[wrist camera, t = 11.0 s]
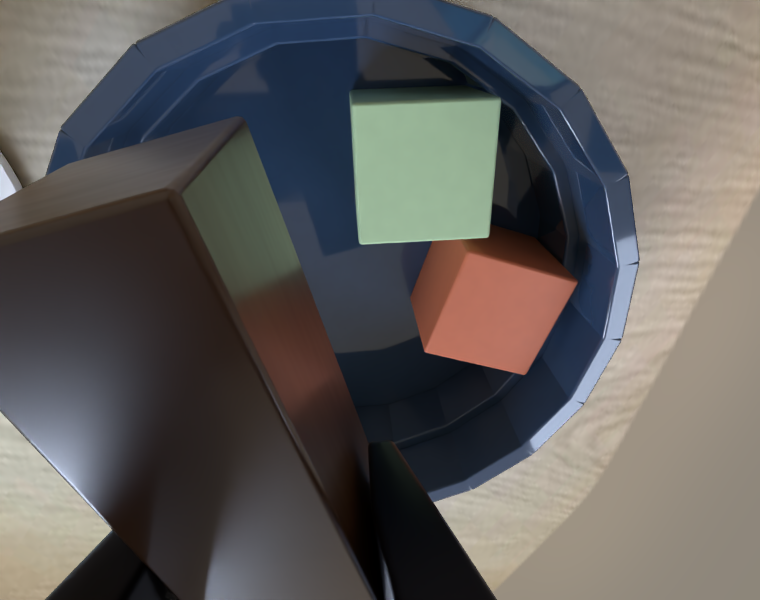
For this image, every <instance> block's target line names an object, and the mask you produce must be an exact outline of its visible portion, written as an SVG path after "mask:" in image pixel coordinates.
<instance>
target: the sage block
mask: <svg viewBox="0 0 760 600" xmlns="http://www.w3.org/2000/svg"><path fill="white" fill-rule="evenodd" d="M349 95H350V113H351V131H352V149H353V167H354V184H355V202H356V215H357V227H358V239H359V243H360V244H362V245H363V244H381V243H400V242H418V241H437V240H455V239H474V238H487V237H488V236H489V233H490V221H491V210H492V199H493V187H494V176H495V165H496V153H497V142H498V130H499V119H500V108H501V99H500V97H498V96H495V95H492V94H489V93H486V92H483V91H480V90H477V89H474V88H471V87H468V86H465V85H460V86H434V87H408V88H382V89H357V90H351V91H350V93H349Z"/></svg>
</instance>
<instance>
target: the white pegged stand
mask: <svg viewBox="0 0 760 600" xmlns="http://www.w3.org/2000/svg"><path fill="white" fill-rule="evenodd" d="M21 189H23V188H22V186H21V184H20V182H19V180H18V178H17V177H16V175H15V173H14V171H13V170H12V168H11V166H10V165H9V163H8V162H7V160H6V159H5V157H4V156H3V154H2V153H1V151H0V201H1V200H3V199H4V198H6V197H8V196H10V195H12V194H14V193H15V192H17V191H19V190H21Z"/></svg>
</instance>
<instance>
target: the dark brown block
mask: <svg viewBox="0 0 760 600" xmlns="http://www.w3.org/2000/svg"><path fill="white" fill-rule="evenodd" d="M0 412H1V413H2V414H3V415H4V416H5V417H6V418H7V419H8V420H9V421H10V422H11V423H12V424H13V425H14V426H15V427H16V428H17V429H18V431H19V432H20V433H21V434H22V435H23V436H24V437H25V438H26V439H27V440H28V441H29V442H30V443H31V444H32V445H33V446H34V447H35V448H36V450H37V451H38V452H39V453H40V454H41V455H42V456H43V457H44V458H45V459H46V460H47V461H48V462H49V463H50V464H51V465H52V466H53V468H54V469H55V470H56V471H57V472H58V473H59V474H60V475H61V476H62V477H63V478H64V479H65V480H66V481H67V482H68V483H69V484H70V485H71V487H72V488H73V489H74V490H75V491H76V492H77V493H78V494H79V495H80V496H81V497H82V498H83V499H84V500H85V501H86V502H87V503H88V505H89V506H90V507H91V508H92V509H93V510H94V511H95V512H96V513H97V514H98V515H99V516H100V517H101V518H102V519H103V520H104V521H105V522H106V524H107V525H108V526H109V527H110V528H111V529H112V530H113V531H114V532H115V533H116V534H117V535H118V536H119V537H120V538H121V539H122V540H123V542H124V543H125V544H126V545H127V546H128V547H129V548H130V549H131V550H132V551H133V552H134V553H135V554H136V555H137V556H138V557H139V558H140V559H141V561H142V562H143V563H144V564H145V565H146V566H147V567H148V568H149V569H150V570H151V571H152V572H153V573H154V574H155V575H156V576H157V577H158V579H159V580H160V581H161V582H162V583H163V584H164V585H165V586H166V587H167V588H168V589H169V590H170V591H171V592H172V593H173V594H174V595H175V596H176V598H177V599H178V600H383V595H382V589H381V583H380V577H379V570H378V561H377V552H376V544H375V535H374V526H373V518H372V509H371V499H370V481H369V462H368V444H369V443H368V441H367V438H366V435H365V433H364V430H363V427H362V425H361V422H360V420H359V417H358V414H357V412H356V409H355V406H354V404H353V401H352V399H351V396H350V393H349V391H348V388H347V385H346V383H345V380H344V377H343V375H342V372H341V370H340V367H339V364H338V362H337V359H336V356H335V354H334V351H333V349H332V346H331V343H330V341H329V338H328V335H327V333H326V330H325V328H324V325H323V322H322V320H321V317H320V314H319V312H318V309H317V307H316V304H315V301H314V299H313V296H312V293H311V291H310V288H309V286H308V283H307V280H306V278H305V275H304V272H303V270H302V267H301V264H300V262H299V259H298V257H297V254H296V251H295V249H294V246H293V243H292V241H291V238H290V236H289V233H288V230H287V228H286V225H285V222H284V220H283V217H282V215H281V212H280V209H279V207H278V204H277V201H276V199H275V196H274V194H273V191H272V188H271V186H270V183H269V180H268V178H267V175H266V173H265V170H264V167H263V165H262V162H261V159H260V157H259V154H258V151H257V149H256V146H255V144H254V141H253V138H252V136H251V133H250V130H249V128H248V125H247V123H246V121H245V120H244V119H243V117H239V116H235V117H232V118H228V119H225V120H221V121H218V122H214V123H210V124H207V125H203V126H200V127H196V128H193V129H189V130H186V131H182V132H179V133H175V134H172V135H168V136H164V137H161V138H157V139H154V140H150V141H147V142H143V143H140V144H136V145H133V146H129V147H125V148H122V149H118V150H115V151H111V152H108V153H104V154H101V155H97V156H94V157H90V158H87V159H83V160H79V161H76V162H72V163H69V164H67V165H65V166H63V167H61V168H59V169H58V170H56V171H54V172H52V173H50V174H48V175H47V176H45V177H43V178H41V179H39V180H37V181H36V182H34V183H32V184H30V185H28V186H26V187H25V188H23V189H21V190H19V191H17V192H15V193H14V194H12V195H10V196H8V197H6V198H4V199H3V200H1V201H0Z"/></svg>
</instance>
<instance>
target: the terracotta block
mask: <svg viewBox="0 0 760 600" xmlns="http://www.w3.org/2000/svg"><path fill="white" fill-rule="evenodd" d="M577 284H578V281H577V279H576V278H575V277H574V276H573V275H572V274H571V273H570V272H569V271H568V270H567V269H566V268H565V267H564V266H563V265H562V264H561V263H560V262H559V261H558V260H557V259H556V258H555V257H554V256H553V255H552V254H551V253H550V252H549V251H548V250H547V249H546V248H545V247H544V246H543V245H542V244H541V243H540V242H539V241H538V240H537V239H536V238H535V237H532V236H528V235H525V234H522V233H518V232H515V231H511V230H508V229H505V228H501V227H498V226H495V225H491V224H490V233H489V236H488V237H487V238H474V239H455V240H437V241H432V243H431V246H430V248H429V251H428V253H427V256H426V258H425V261H424V264H423V266H422V269H421V271H420V274H419V276H418V279H417V281H416V284H415V286H414V289H413V292H412V294H411V297H410V299H411V303H412V307H413V311H414V314H415V318H416V322H417V326H418V329H419V333H420V337H421V341H422V344H423V348H424V351H425V352H426V353H430V354H434V355H439V356H443V357H447V358H452V359H456V360H461V361H465V362H469V363H474V364H478V365H483V366H487V367H491V368H496V369H500V370H505V371H509V372H513V373H518V374H522V375H525V374H527V372H528V370H529V368H530V367H531V365H532V363H533V361H534V359H535V358H536V356H537V354H538V352H539V351H540V349H541V347H542V345H543V344H544V342H545V340H546V338H547V337H548V335H549V333H550V331H551V330H552V328H553V326H554V324H555V323H556V321H557V319H558V317H559V315H560V314H561V312H562V310H563V308H564V307H565V305H566V303H567V301H568V300H569V298H570V296H571V294H572V293H573V291H574V289H575V287H576V286H577Z"/></svg>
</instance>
